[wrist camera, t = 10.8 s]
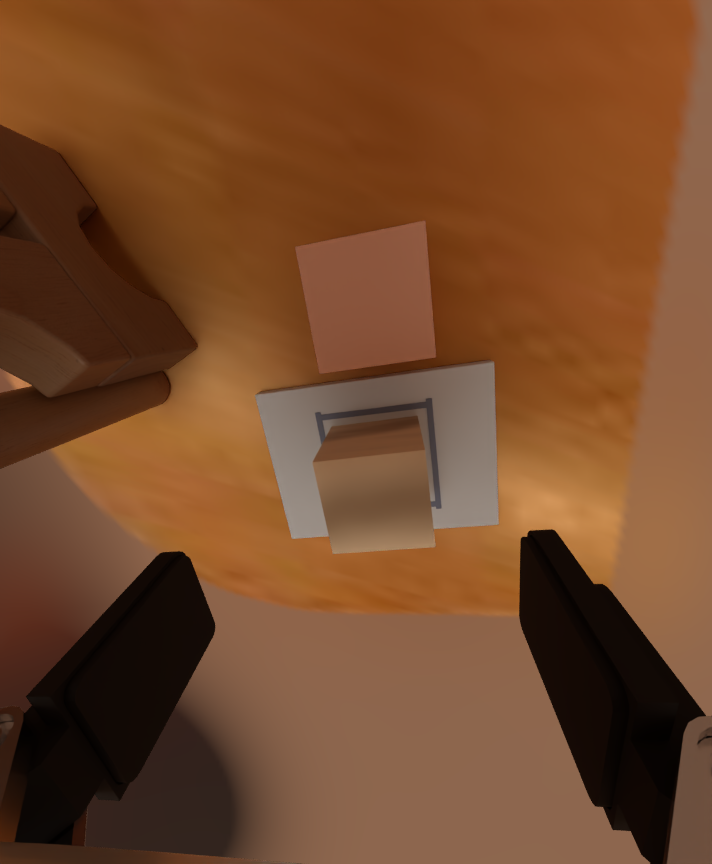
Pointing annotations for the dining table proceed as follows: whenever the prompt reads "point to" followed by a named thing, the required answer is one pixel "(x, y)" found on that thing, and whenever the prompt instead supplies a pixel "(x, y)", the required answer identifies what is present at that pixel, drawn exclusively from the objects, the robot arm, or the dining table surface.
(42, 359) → the wooden toy
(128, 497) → the dining table surface
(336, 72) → the dining table surface
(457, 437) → the board
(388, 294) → the rust block
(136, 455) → the dining table surface
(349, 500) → the birch block
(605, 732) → the robot arm
